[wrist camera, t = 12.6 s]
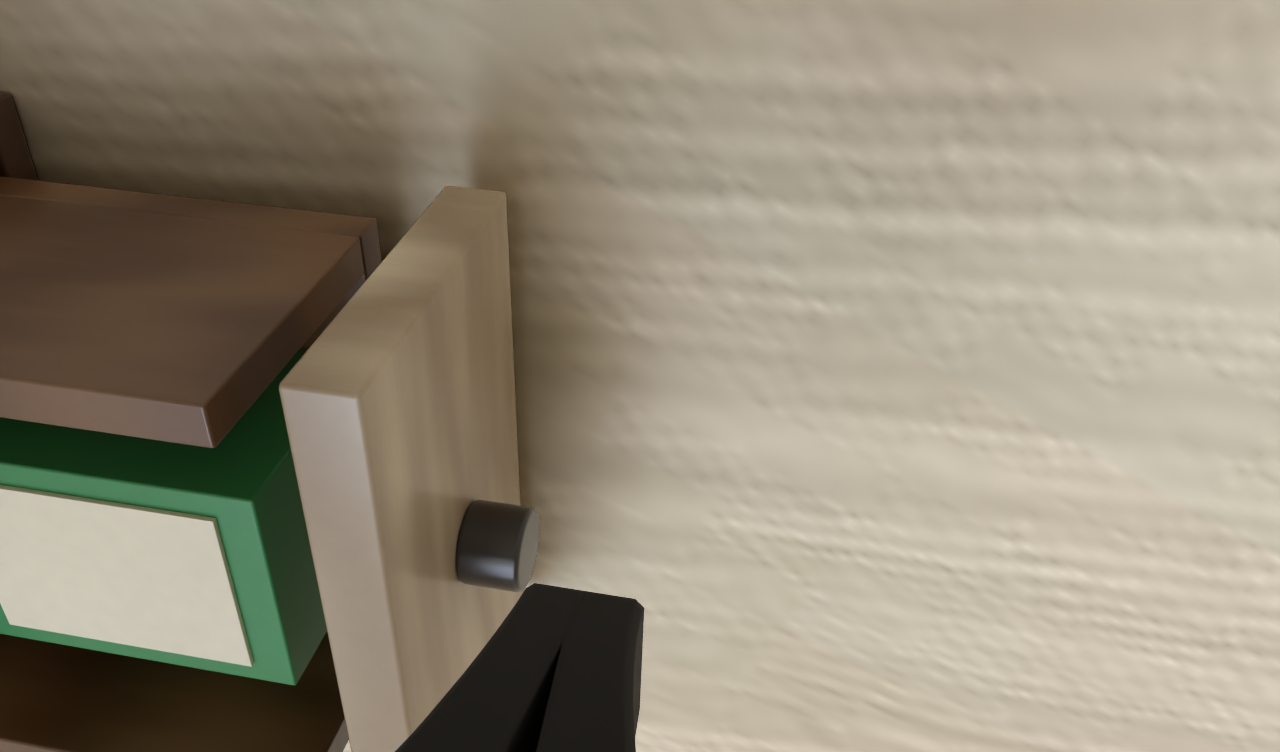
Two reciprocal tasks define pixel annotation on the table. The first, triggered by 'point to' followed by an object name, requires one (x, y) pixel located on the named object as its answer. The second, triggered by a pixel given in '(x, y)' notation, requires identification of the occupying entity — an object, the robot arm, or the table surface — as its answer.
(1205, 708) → the table surface
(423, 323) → the drawer
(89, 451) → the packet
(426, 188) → the table surface
